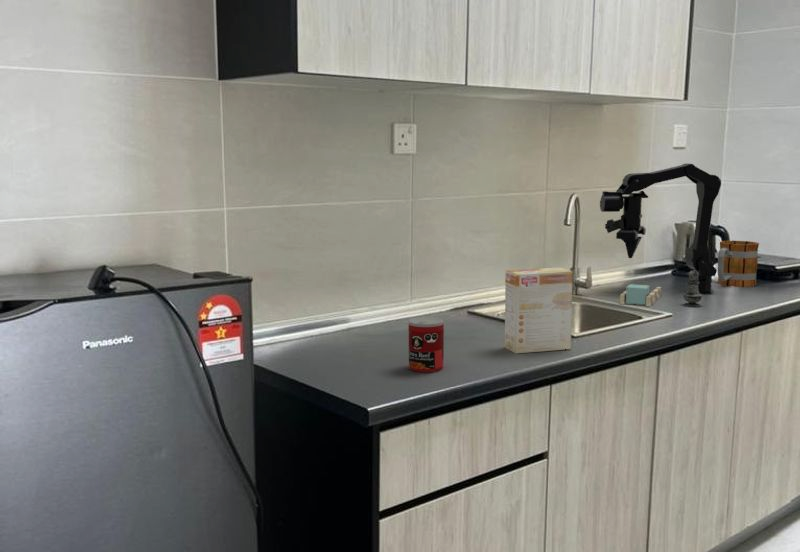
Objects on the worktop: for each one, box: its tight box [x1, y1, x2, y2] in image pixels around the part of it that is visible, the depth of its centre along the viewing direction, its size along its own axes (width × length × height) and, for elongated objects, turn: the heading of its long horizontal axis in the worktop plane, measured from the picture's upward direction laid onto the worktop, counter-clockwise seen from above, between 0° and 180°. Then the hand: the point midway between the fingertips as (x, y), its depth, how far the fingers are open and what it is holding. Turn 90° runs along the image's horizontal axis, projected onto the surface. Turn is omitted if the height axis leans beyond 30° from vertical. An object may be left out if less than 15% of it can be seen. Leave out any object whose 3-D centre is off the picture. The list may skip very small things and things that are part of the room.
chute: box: [619, 286, 662, 308], centre depth 254 cm, size 20×9×3 cm, turn 153°
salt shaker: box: [682, 268, 704, 308], centre depth 244 cm, size 6×6×12 cm
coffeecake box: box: [504, 267, 574, 355], centre depth 192 cm, size 15×7×20 cm, turn 105°
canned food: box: [408, 316, 445, 373], centre depth 176 cm, size 8×8×11 cm
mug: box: [717, 240, 760, 288], centre depth 280 cm, size 20×14×15 cm
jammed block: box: [625, 283, 651, 305], centre depth 248 cm, size 6×6×5 cm
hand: (630, 258), depth 265 cm, fingers closed
